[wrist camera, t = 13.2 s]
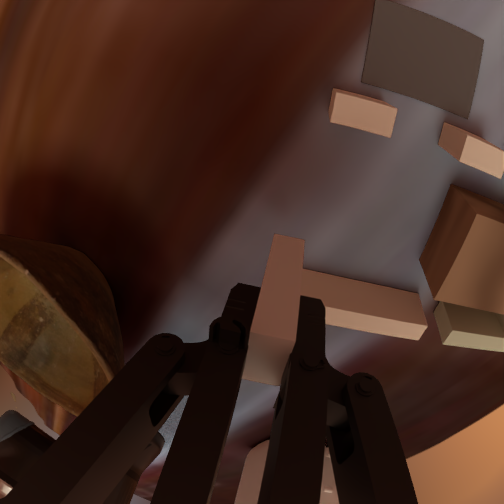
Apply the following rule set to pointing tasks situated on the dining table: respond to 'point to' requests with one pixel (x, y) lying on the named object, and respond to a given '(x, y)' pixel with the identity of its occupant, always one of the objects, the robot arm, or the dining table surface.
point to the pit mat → (422, 57)
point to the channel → (371, 295)
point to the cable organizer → (254, 474)
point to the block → (467, 252)
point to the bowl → (57, 321)
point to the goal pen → (470, 327)
